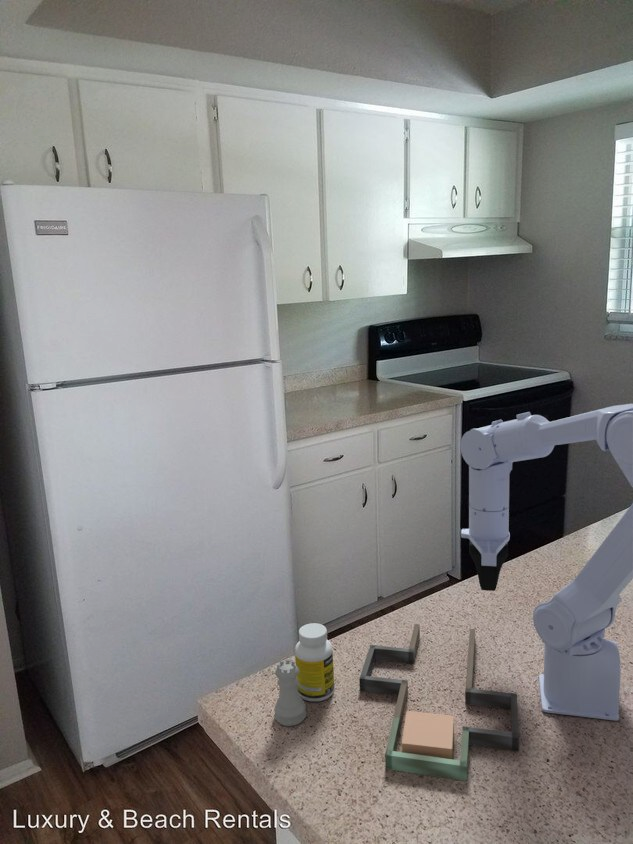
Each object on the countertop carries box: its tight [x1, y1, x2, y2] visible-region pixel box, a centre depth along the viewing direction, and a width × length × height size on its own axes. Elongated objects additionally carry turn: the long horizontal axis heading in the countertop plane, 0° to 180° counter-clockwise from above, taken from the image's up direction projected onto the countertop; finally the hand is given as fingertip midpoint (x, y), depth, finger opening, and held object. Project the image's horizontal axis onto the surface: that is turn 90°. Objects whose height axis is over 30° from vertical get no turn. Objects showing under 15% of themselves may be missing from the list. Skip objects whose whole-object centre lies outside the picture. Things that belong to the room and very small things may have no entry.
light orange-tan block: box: [401, 710, 455, 760], centre depth 81 cm, size 6×6×3 cm
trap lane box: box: [358, 623, 520, 782], centre depth 91 cm, size 22×30×2 cm
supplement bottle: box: [294, 622, 335, 703], centre depth 92 cm, size 5×5×10 cm
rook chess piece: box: [273, 659, 308, 727], centre depth 88 cm, size 4×4×8 cm
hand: (488, 588), depth 99 cm, fingers closed
